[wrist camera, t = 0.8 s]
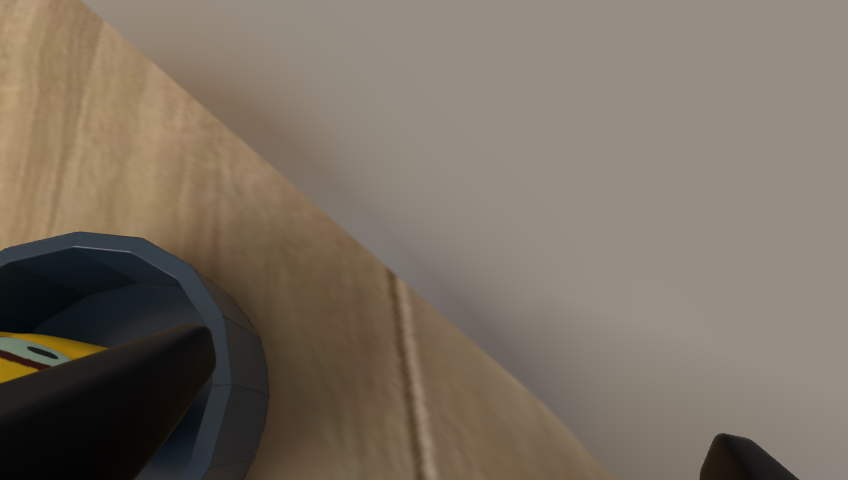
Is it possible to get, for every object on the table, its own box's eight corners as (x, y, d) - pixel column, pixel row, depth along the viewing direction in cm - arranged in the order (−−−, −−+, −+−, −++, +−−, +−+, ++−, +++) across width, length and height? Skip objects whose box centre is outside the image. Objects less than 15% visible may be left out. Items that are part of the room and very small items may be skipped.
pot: (13, 695, 16) (-152, 805, 11) (-89, 391, 21) (-238, 378, 16) (325, 432, 21) (300, 432, 16) (186, 226, 25) (134, 177, 20)
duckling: (250, 404, 21) (128, 383, 12) (184, 524, 19) (-27, 613, 9) (63, 318, 22) (-176, 240, 13) (-18, 420, 20) (-371, 411, 11)
